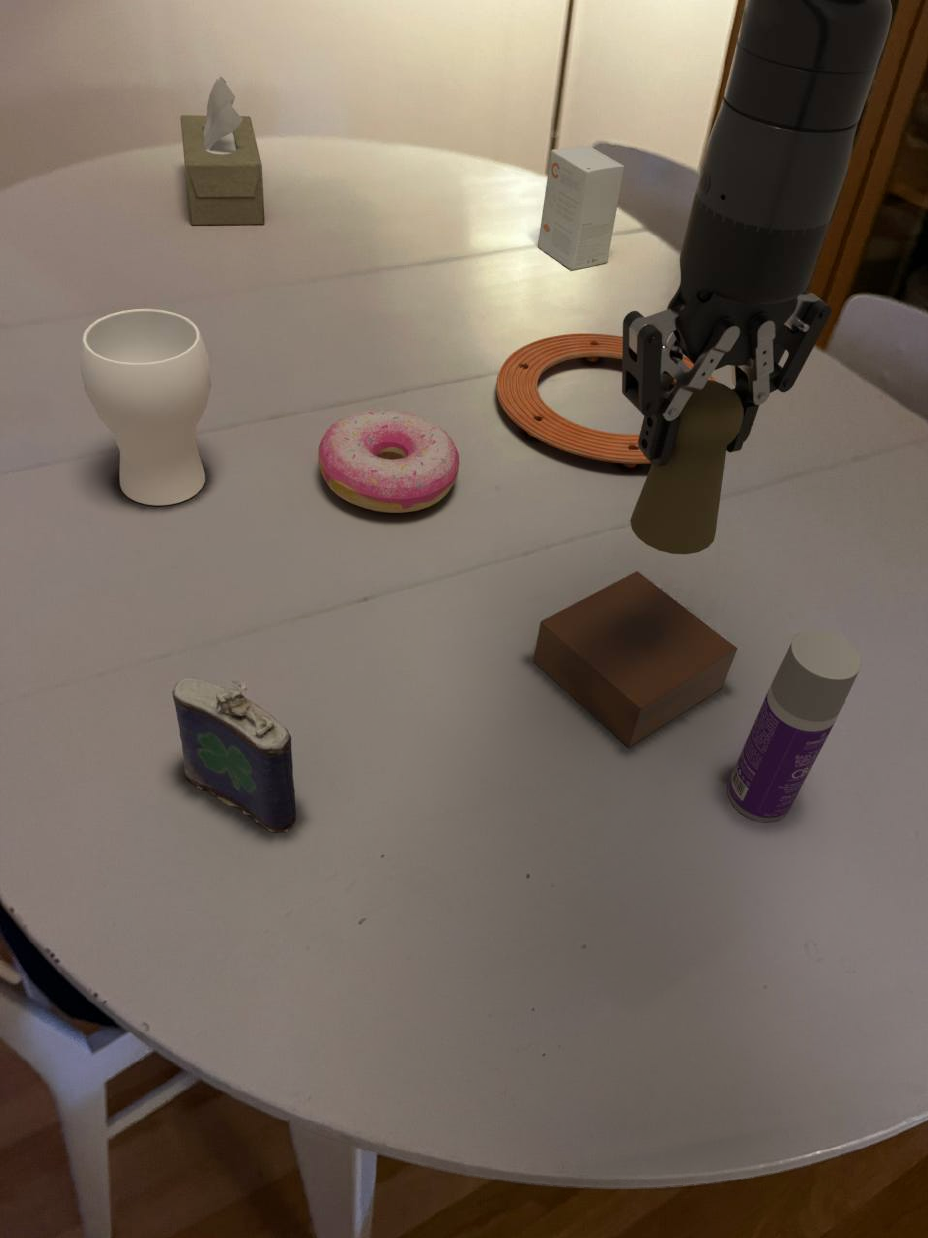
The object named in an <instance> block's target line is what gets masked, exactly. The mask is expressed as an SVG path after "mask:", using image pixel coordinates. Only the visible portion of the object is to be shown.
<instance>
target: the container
mask: <svg viewBox="0 0 928 1238" xmlns="http://www.w3.org/2000/svg"><path fill="white" fill-rule="evenodd" d="M861 668H862V658H861V655H860V653H859V652H858V649H857V648H856V647H855V646H854V645H853V644H852V643H851V642H850V641H848V640H847V639H846V638H844V637H842V636H840V635H839V634H836V633H834V632H831V631H828V630H823V629H807V630H803V631H801V632H799V633H797V634H796V635H795V636H794V637H793V638H792V640H791V643H790V645H789V647H788V649H787V651H786V653H785V655H784V657H783V659H782V661H781V663H780V665H779V668H778V669H777V671H776V673H775V676H774V678H773V679H772V682H771V684H770V686H769V688H768V690H767V692H766V695H765V697H764V699H763V702H762V704H761V706H760V708H759V710H758V713H757V716H756V717H755V720H754V722H753V725H752V726H751V729H750V731H749V734H748V736H747V739H746V741H745V742H744V746H743V747H742V751H741V752H740V754H739V757H738V759H737V761H736V764H735V766H734V769H733V771H732V773H731V775H730V778H729V780H728V783H727V787H726V789H727V791H726V792H727V796H728V798H729V801H730V803H731V804H732V805H733V807H734V808H735V809H736V810H737V811H738V812H740V814H742V815H743V816H745V817H747V818H749V819H752V820H753V821H756V822H762V823H772V822H778V821H779V820H782V819H784V818H785V816H787V815H788V813H789V811H790V810H791V808H792V806H793V804H794V802H795V800H796V798H797V796H798V794H799V792H800V791H801V789H802V787H803V785H804V784H805V781H806V780H807V777H808V775H809V774H810V771H811V770H812V768H813V766H814V764H815V762H816V760H817V758H818V756H819V754H820V752H821V750H822V748H823V747H824V745H825V743H826V741H827V739H828V737H829V735H830V733H831V731H832V729H833V727H834V725H835V723H836V722H837V719H838V716H839V715H840V712H841V710H842V709H843V707H844V705H845V702H846V700H847V698H848V696H849V694H850V693H851V689H852V687H853V686H854V683H855V681H856V679H857V677H858V674H859V672H860V670H861Z"/></svg>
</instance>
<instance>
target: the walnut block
mask: <svg viewBox="0 0 928 1238" xmlns="http://www.w3.org/2000/svg"><path fill="white" fill-rule="evenodd" d="M737 652H738V647H736V646H735V645H734V644H732V643H731V642H730V641H729V640H727V639H726V638H724V636H722V635H721V634H720V633H718V632H717V631H716V630H714V629H713V628H711V626H709V624H706V623H705V622H704V621H703V620H701V619H700V618H699V617H697V616H696V615H695V614H694V613H693V612H691V611H689V609H688V608H686V607H685V606H683V604H680V602H678V601H677V600H676V599H675V598H673V597H672V596H671V595H669V594H668V593H667V592H666V591H664V590H662V588H660V587H658V585H656V584H655V583H654V582H653V581H651V580H650V579H649V578H647V577H646V576H645V575H643V574H642V573H641V572H640V571H638V570H637V571H635V572H632V573H630V574H628V575H626V576H625V577H623V578H621V579H619V580H617V581H615V582H613V583H610V584H609V585H607V586H605V587H603V588H602V589H599V590H598V591H596V592H594V593H592V594H589V595H588V596H587V597H585V598H582V599H580V600H579V601H577V602H574V603H573V604H571V605H569V606H568V607H565V608H564V609H561V610H559V611H557V612H556V613H554V614H552V615H550V616H548V617H546V618H544V619H542V620H541V621H540V623H539V628H538V633H537V638H536V643H535V649H534V654H533V658H532V661H533V662H534V663H535V664H536V665H537V666H538V667H539V668H540V669H541V670H542V671H543V672H545V673H546V674H547V675H548V676H549V677H550V678H551V679H552V680H553V681H555V682H556V683H557V684H558V685H559V686H560V687H561V688H562V689H563V690H564V691H565V692H567V694H568V695H570V696H571V697H572V698H573V699H575V700H576V702H577V703H579V704H580V705H581V706H582V707H583V708H584V709H585V710H587V712H588V713H590V714H591V715H592V716H593V717H594V718H595V719H597V721H598V722H600V724H602V725H603V726H604V727H605V728H606V729H608V730H609V732H611V733H612V734H613V735H614V736H615V737H616V738H617V739H618V740H620V742H621V743H623V744H624V745H625V746H626V747H627V748H630V747H632V746H633V745H635V744H637V743H639V742H640V741H641V740H643V739H644V738H646V737H648V736H649V735H650V734H652V733H654V732H655V731H657V730H659V729H660V728H661V727H663V726H665V725H666V724H668V723H669V722H671V721H673V720H674V719H675V718H678V717H679V716H680V715H681V714H684V713H686V712H687V711H688V710H690V709H691V708H693V707H694V706H696V705H697V704H699V703H700V702H702V701H704V700H705V699H707V698H708V697H710V696H711V695H713V694H715V693H716V692H717V691H719V690H721V689H722V688H723V687H724V684H725V682H726V680H727V677H728V675H729V673H730V669H731V667H732V664H733V662H734V659H735V656H736V654H737Z"/></svg>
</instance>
